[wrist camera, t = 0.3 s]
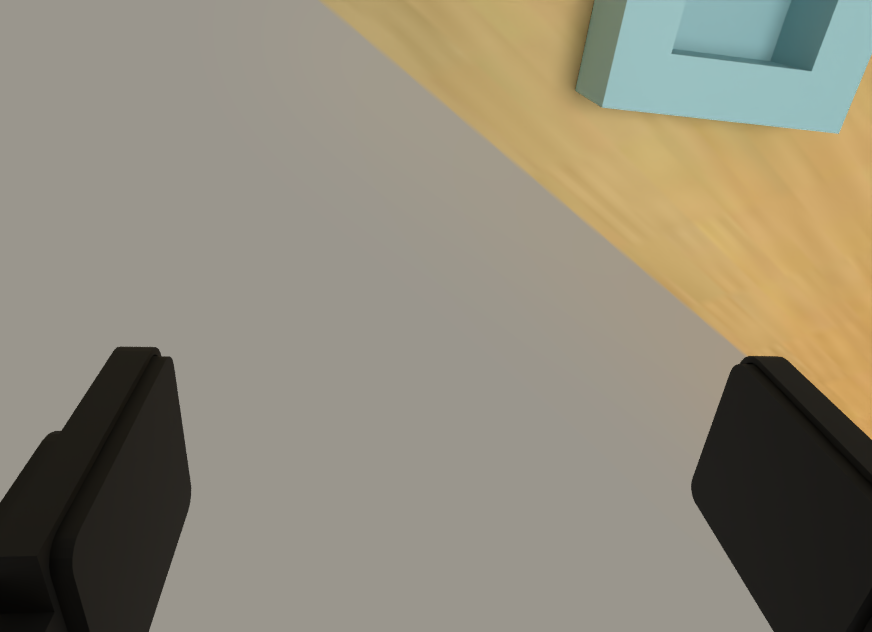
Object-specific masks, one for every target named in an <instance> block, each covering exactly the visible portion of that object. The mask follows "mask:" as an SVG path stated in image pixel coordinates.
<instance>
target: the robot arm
mask: <svg viewBox="0 0 872 632" xmlns="http://www.w3.org/2000/svg"><path fill="white" fill-rule="evenodd" d="M691 490H692V495H693V499H694V501H695V503H696V505H697V506H698V508H699V510H700V511H701V513H702V514H703V516H704V518H705V519H706V521H707V523H708V524H709V526H710V527H711V529H712V531H713V533H714V534H715V536H716V537H717V539H718V541H719V542H720V544H721V546H722V547H723V549H724V551H725V552H726V554H727V555H728V557H729V559H730V560H731V562H732V564H733V565H734V567H735V569H736V570H737V572H738V574H739V575H740V577H741V579H742V580H743V582H744V583H745V585H746V587H747V588H748V590H749V592H750V593H751V595H752V597H753V598H754V600H755V602H756V603H757V605H758V606H759V608H760V610H761V611H762V613H763V615H764V616H765V618H766V620H767V621H768V623H769V625H770V626H771V628H772V629H773V631H774V632H872V440H871V439H870V438H869V437H868V436H867V435H866V434H865V433H864V432H863V431H862V430H861V429H860V428H859V427H857V426H856V425H855V424H854V423H853V422H852V421H851V420H850V419H849V418H848V417H847V416H846V415H845V414H844V413H843V412H842V411H841V410H839V409H838V408H837V407H836V406H835V405H834V404H833V403H832V402H831V401H830V400H829V399H828V398H827V397H826V396H825V395H824V394H823V393H821V392H820V391H819V390H818V389H817V388H816V387H815V386H814V385H813V384H812V383H811V382H810V381H809V380H808V379H807V378H806V377H804V376H803V375H802V374H801V373H800V372H799V371H798V370H797V369H796V368H795V367H794V366H793V365H792V364H791V363H790V362H789V361H788V360H786V359H785V358H783V357H777V356H748V357H745V358H744V359H743V360H742V361H741V363H740V364H738V365H735V366H734V367H733V368H732V370H731V372H730V375H729V378H728V380H727V383H726V386H725V389H724V392H723V394H722V397H721V400H720V403H719V405H718V408H717V411H716V414H715V417H714V420H713V422H712V426H711V428H710V431H709V434H708V437H707V439H706V442H705V445H704V448H703V450H702V453H701V456H700V459H699V462H698V465H697V467H696V470H695V473H694V476H693V479H692V484H691ZM190 499H191V482H190V475H189V468H188V461H187V454H186V447H185V440H184V433H183V426H182V419H181V412H180V405H179V399H178V391H177V384H176V377H175V370H174V364H173V360H172V358H171V357H161V353H160V351H159V349H158V348H156V347H117V348H116V349H115V350H114V351H113V353H112V354H111V356H110V357H109V359H108V360H107V362H106V363H105V365H104V367H103V368H102V370H101V371H100V373H99V374H98V376H97V377H96V379H95V380H94V382H93V383H92V385H91V386H90V388H89V390H88V391H87V393H86V394H85V396H84V397H83V399H82V400H81V402H80V403H79V405H78V406H77V408H76V409H75V411H74V412H73V414H72V415H71V417H70V419H69V420H68V422H67V423H66V425H65V426H64V428H63V429H62V431H54V432H52V433H50V434H48V435H47V436H46V437H45V439H44V440H43V441H42V442H41V444H40V445H39V447H38V448H37V449H36V451H35V452H34V454H33V455H32V457H31V458H30V460H29V461H28V463H27V464H26V465H25V467H24V469H23V470H22V471H21V473H20V474H19V476H18V477H17V479H16V480H15V482H14V483H13V485H12V486H11V488H10V489H9V491H8V492H7V494H6V495H5V497H4V498H3V499H2V501H1V502H0V632H149V629H150V626H151V623H152V620H153V617H154V614H155V610H156V607H157V604H158V601H159V598H160V595H161V592H162V589H163V586H164V583H165V580H166V577H167V574H168V571H169V568H170V565H171V561H172V558H173V555H174V552H175V549H176V546H177V543H178V540H179V537H180V534H181V531H182V527H183V525H184V522H185V518H186V516H187V513H188V509H189V505H190Z"/></svg>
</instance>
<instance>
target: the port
mask: <svg viewBox="0 0 872 632" xmlns="http://www.w3.org/2000/svg"><path fill="white" fill-rule="evenodd" d="M871 54H872V0H595V1H594V5H593V10H592V15H591V19H590V24H589V29H588V33H587V38H586V43H585V47H584V52H583V57H582V62H581V66H580V71H579V76H578V80H577V85H576V90H575V91H576V92H578V93H579V94H581V95H583V96H584V97H586V98H588V99H589V100H591V101H592V102H594V103H596V104H597V105H599V106H600V107H603V108H612V109H621V110H630V111H639V112H648V113H657V114H666V115H675V116H684V117H693V118H702V119H711V120H720V121H730V122H739V123H748V124H757V125H766V126H775V127H784V128H793V129H802V130H811V131H820V132H829V133H838V134H839V132H840V129H841V127H842V124H843V122H844V120H845V117H846V115H847V112H848V110H849V108H850V105H851V103H852V100H853V98H854V95H855V93H856V91H857V88H858V86H859V83H860V81H861V79H862V76H863V74H864V71H865V69H866V66H867V64H868V62H869V59H870V57H871Z"/></svg>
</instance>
